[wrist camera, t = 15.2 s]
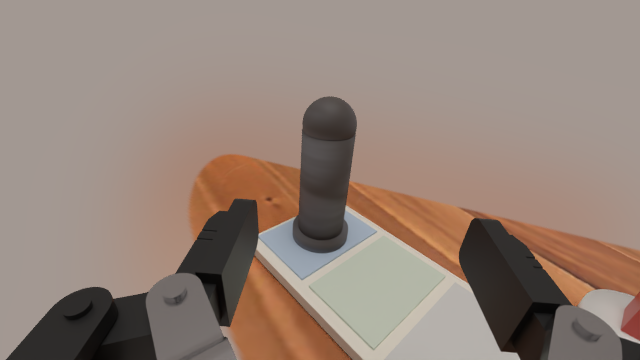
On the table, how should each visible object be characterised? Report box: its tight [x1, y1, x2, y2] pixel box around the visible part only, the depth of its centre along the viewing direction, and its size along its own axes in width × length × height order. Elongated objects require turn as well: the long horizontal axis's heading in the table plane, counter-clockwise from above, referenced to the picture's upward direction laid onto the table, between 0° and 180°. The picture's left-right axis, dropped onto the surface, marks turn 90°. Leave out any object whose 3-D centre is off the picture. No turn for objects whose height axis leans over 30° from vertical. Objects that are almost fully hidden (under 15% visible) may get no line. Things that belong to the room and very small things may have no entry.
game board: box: [254, 206, 520, 360], centre depth 23 cm, size 11×21×1 cm, turn 42°
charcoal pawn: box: [293, 97, 357, 253], centre depth 24 cm, size 5×5×12 cm
